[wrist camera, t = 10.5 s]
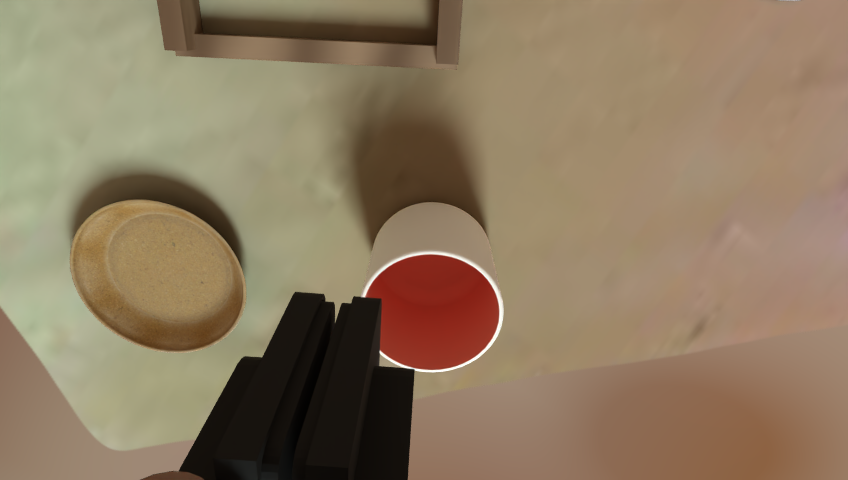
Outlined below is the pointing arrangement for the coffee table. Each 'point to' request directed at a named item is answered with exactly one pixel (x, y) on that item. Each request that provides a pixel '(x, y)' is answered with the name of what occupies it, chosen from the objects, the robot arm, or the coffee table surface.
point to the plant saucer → (158, 276)
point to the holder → (308, 42)
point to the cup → (434, 288)
